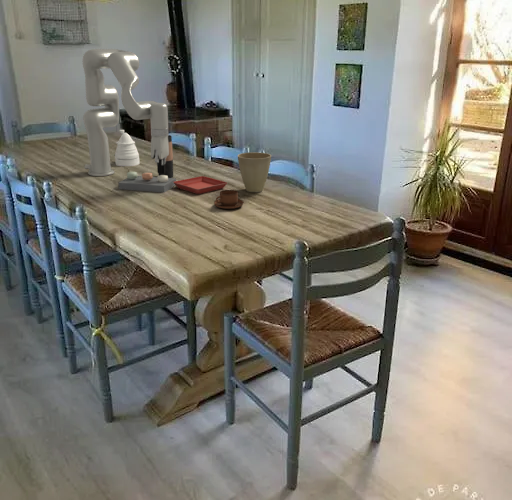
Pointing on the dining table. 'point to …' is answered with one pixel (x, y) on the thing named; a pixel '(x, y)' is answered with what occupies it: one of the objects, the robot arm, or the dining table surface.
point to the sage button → (131, 175)
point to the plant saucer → (200, 184)
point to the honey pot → (126, 151)
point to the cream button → (162, 178)
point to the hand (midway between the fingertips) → (161, 173)
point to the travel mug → (169, 160)
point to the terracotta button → (147, 176)
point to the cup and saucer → (228, 200)
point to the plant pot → (254, 170)
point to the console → (146, 184)
